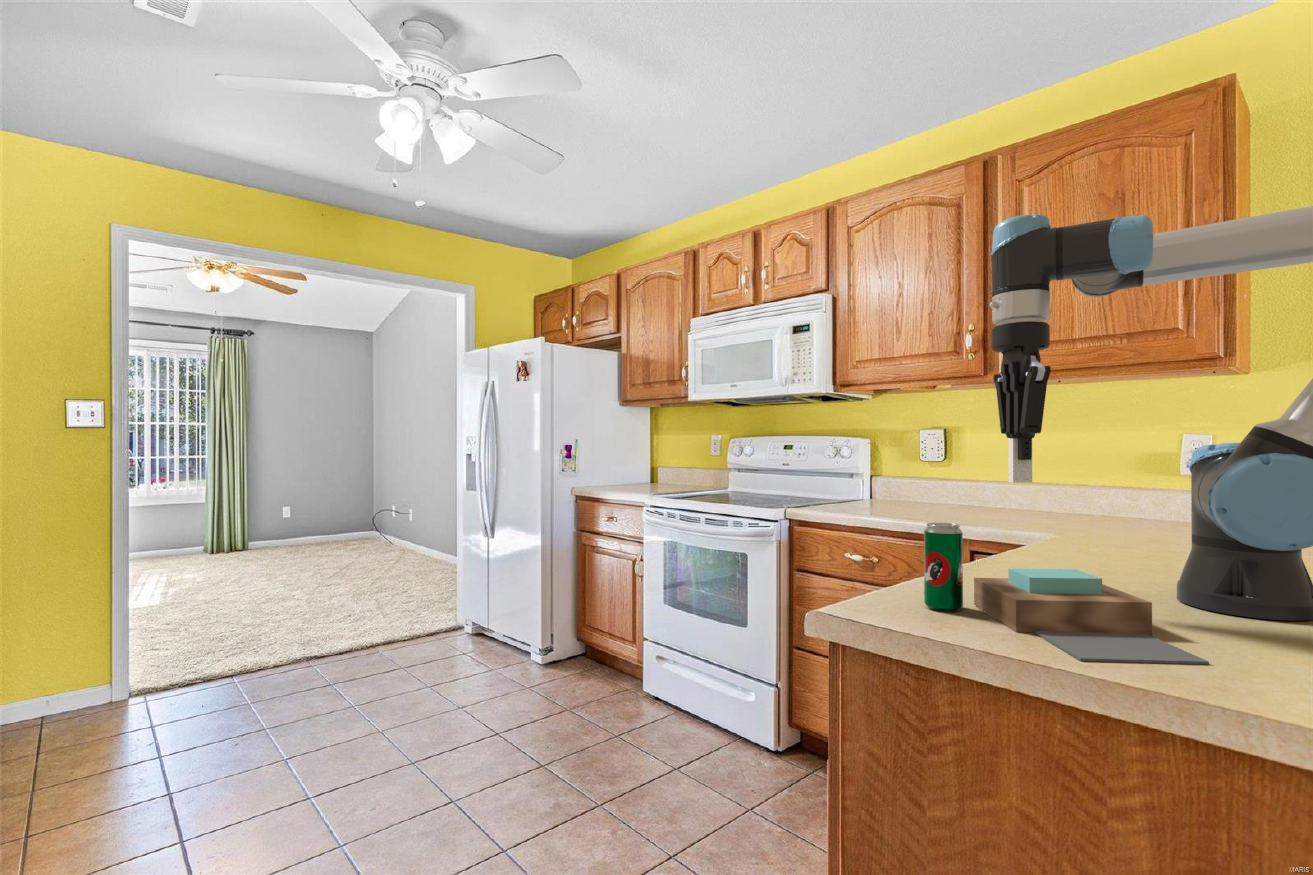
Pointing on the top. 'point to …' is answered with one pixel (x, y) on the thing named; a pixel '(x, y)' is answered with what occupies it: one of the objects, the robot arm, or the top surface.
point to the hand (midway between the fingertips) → (1020, 481)
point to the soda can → (943, 567)
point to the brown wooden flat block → (1063, 609)
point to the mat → (1118, 647)
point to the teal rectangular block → (1055, 581)
